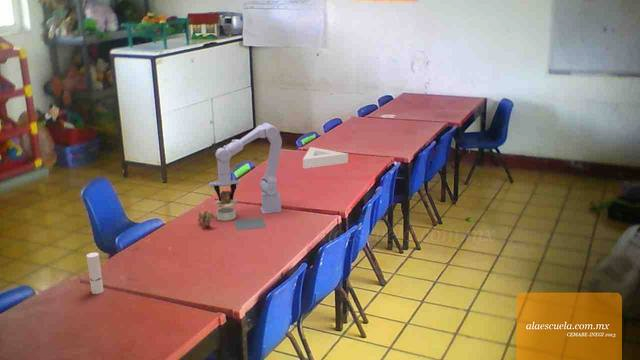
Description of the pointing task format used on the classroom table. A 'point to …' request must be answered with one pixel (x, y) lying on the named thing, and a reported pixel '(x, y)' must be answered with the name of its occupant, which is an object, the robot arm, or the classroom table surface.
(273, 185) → the robot arm
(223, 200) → the lid
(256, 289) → the classroom table surface
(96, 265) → the tube
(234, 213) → the bowl
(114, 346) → the classroom table surface
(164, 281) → the classroom table surface
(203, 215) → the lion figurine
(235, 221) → the mat
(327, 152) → the triangle block
